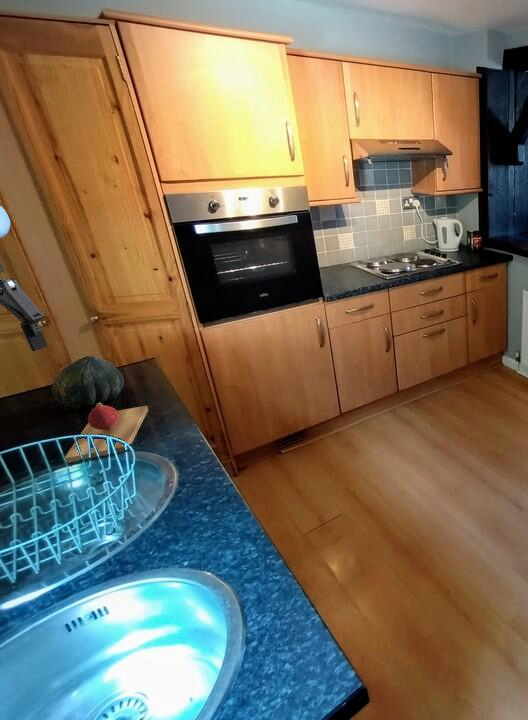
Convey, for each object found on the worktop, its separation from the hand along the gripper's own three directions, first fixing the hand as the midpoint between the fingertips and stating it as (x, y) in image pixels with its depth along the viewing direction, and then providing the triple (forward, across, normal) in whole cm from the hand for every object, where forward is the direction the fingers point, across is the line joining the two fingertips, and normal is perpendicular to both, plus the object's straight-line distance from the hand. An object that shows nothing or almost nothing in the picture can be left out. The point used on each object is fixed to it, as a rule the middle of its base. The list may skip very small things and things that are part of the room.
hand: (14, 346), depth 105 cm
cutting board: (+27, -10, -4) cm, 29 cm away
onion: (+25, -10, -4) cm, 28 cm away
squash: (+27, +9, -18) cm, 34 cm away
